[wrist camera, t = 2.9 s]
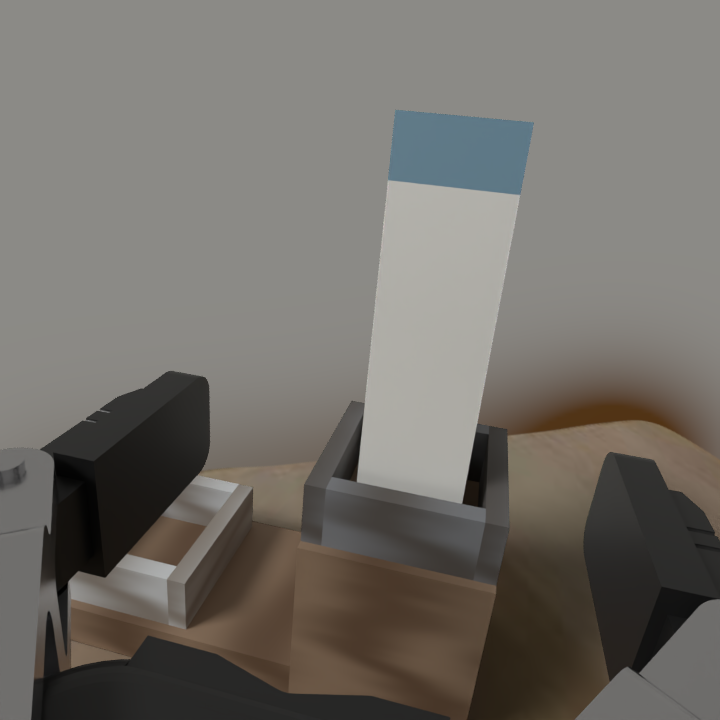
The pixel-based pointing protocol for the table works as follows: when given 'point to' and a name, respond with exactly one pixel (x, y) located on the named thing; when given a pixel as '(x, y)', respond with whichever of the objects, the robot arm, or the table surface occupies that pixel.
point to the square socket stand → (320, 581)
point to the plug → (438, 296)
